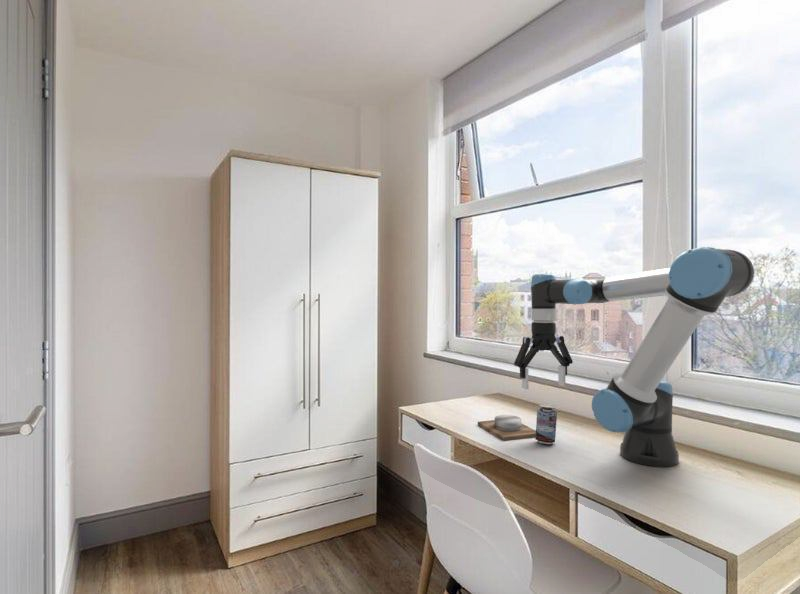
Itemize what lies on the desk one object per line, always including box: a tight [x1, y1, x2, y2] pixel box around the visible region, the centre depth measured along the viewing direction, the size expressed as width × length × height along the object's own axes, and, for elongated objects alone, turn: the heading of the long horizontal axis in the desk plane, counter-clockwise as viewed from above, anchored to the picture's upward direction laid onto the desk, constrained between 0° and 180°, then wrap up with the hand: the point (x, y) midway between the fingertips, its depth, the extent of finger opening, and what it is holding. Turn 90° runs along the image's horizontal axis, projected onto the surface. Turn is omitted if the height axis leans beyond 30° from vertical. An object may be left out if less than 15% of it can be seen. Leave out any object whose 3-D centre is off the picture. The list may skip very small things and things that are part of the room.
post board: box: [477, 414, 536, 442], centre depth 163 cm, size 18×14×4 cm
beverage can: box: [534, 404, 558, 445], centre depth 150 cm, size 6×7×12 cm
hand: (543, 387), depth 153 cm, fingers open, 13 cm apart
